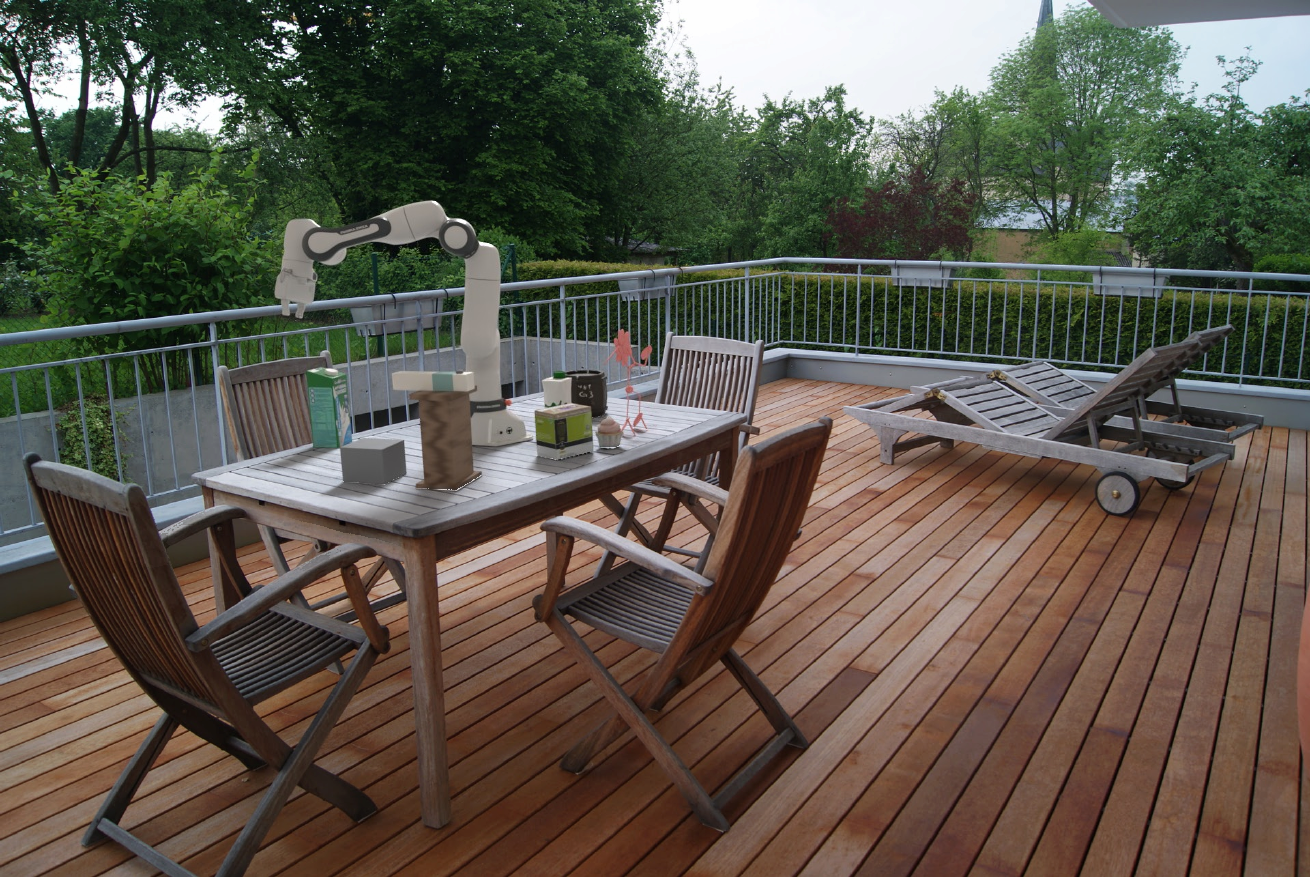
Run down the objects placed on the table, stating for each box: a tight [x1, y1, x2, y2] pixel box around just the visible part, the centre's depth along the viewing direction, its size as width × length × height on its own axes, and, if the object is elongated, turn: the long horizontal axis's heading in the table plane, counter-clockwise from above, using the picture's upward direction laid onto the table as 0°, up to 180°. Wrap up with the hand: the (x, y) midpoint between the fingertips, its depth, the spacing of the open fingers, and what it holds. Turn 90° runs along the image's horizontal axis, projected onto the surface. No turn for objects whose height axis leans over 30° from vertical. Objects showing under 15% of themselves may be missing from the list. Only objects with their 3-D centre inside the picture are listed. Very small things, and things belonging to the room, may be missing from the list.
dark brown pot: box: [564, 369, 609, 418], centre depth 353 cm, size 18×18×16 cm
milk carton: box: [305, 366, 353, 449], centre depth 308 cm, size 9×9×25 cm
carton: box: [391, 369, 475, 391], centre depth 257 cm, size 22×5×5 cm, turn 75°
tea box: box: [534, 403, 595, 461], centre depth 291 cm, size 15×10×15 cm
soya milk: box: [541, 370, 572, 409], centre depth 325 cm, size 9×9×20 cm
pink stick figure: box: [603, 328, 656, 435], centre depth 320 cm, size 15×26×35 cm, turn 154°
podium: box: [339, 437, 407, 485], centre depth 267 cm, size 13×12×10 cm
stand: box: [408, 385, 483, 490], centre depth 259 cm, size 12×16×26 cm
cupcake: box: [594, 415, 625, 448], centre depth 300 cm, size 9×9×10 cm
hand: (292, 316), depth 292 cm, fingers open, 8 cm apart
